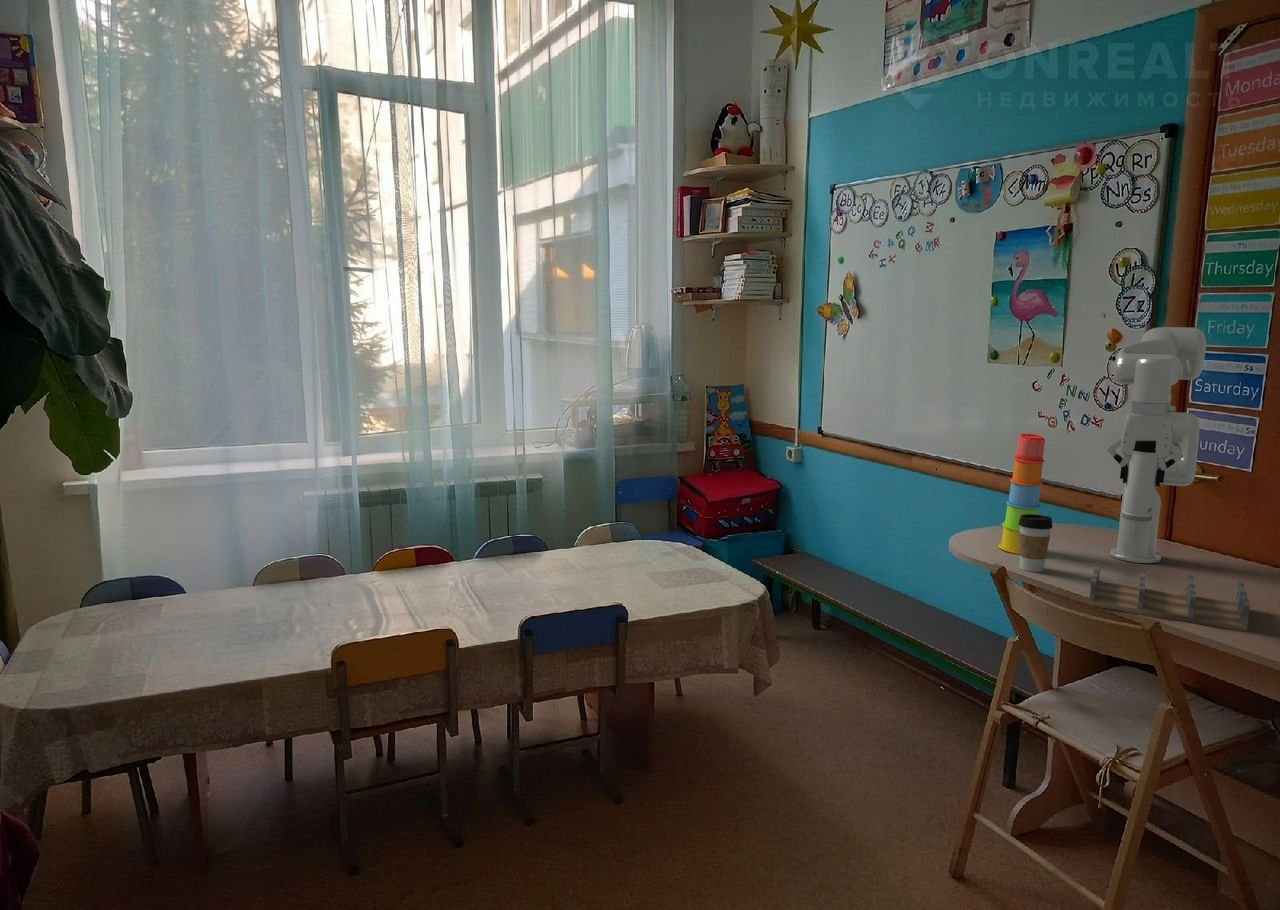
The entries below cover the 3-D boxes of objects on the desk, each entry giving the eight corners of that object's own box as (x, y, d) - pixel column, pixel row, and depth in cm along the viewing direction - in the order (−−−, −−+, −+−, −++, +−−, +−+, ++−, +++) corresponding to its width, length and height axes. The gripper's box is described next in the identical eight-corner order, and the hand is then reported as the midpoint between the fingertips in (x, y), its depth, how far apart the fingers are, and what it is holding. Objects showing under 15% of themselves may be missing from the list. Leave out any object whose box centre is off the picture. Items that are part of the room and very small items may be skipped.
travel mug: (1157, 522, 197) (1167, 439, 194) (1126, 520, 199) (1136, 438, 195) (1148, 516, 203) (1158, 435, 200) (1118, 514, 205) (1127, 434, 201)
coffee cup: (1036, 575, 223) (1041, 521, 221) (1008, 567, 230) (1012, 514, 228) (1054, 570, 228) (1060, 517, 225) (1026, 562, 235) (1031, 510, 232)
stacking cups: (1030, 545, 251) (1040, 432, 245) (1040, 555, 241) (1051, 437, 235) (994, 544, 253) (1004, 431, 247) (1003, 553, 243) (1012, 436, 237)
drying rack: (1093, 584, 216) (1096, 561, 215) (1239, 607, 200) (1243, 582, 199) (1088, 605, 201) (1091, 580, 200) (1246, 631, 185) (1250, 605, 184)
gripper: (1193, 410, 195) (1184, 485, 198) (1109, 405, 204) (1101, 477, 207) (1193, 413, 189) (1183, 491, 192) (1106, 408, 198) (1098, 482, 201)
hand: (1141, 483), depth 200 cm, fingers closed on travel mug, 6 cm apart
